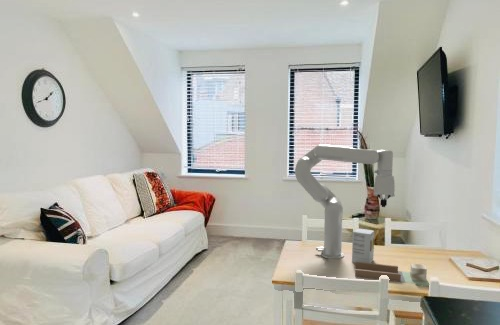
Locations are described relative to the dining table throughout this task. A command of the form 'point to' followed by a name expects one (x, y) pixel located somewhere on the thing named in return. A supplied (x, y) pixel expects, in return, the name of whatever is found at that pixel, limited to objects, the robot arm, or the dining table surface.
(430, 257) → the dining table surface
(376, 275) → the channel board
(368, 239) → the supplement box
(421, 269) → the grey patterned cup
